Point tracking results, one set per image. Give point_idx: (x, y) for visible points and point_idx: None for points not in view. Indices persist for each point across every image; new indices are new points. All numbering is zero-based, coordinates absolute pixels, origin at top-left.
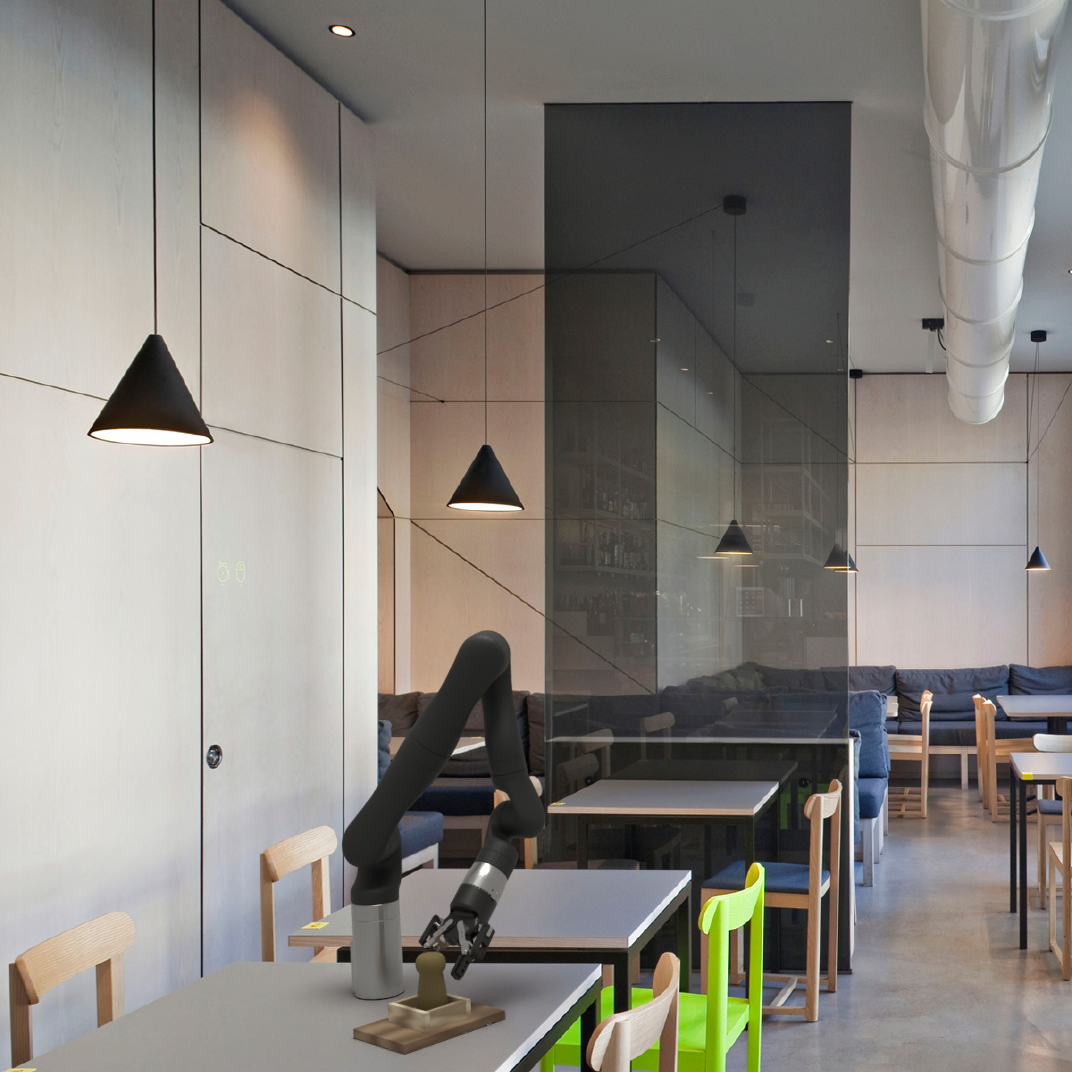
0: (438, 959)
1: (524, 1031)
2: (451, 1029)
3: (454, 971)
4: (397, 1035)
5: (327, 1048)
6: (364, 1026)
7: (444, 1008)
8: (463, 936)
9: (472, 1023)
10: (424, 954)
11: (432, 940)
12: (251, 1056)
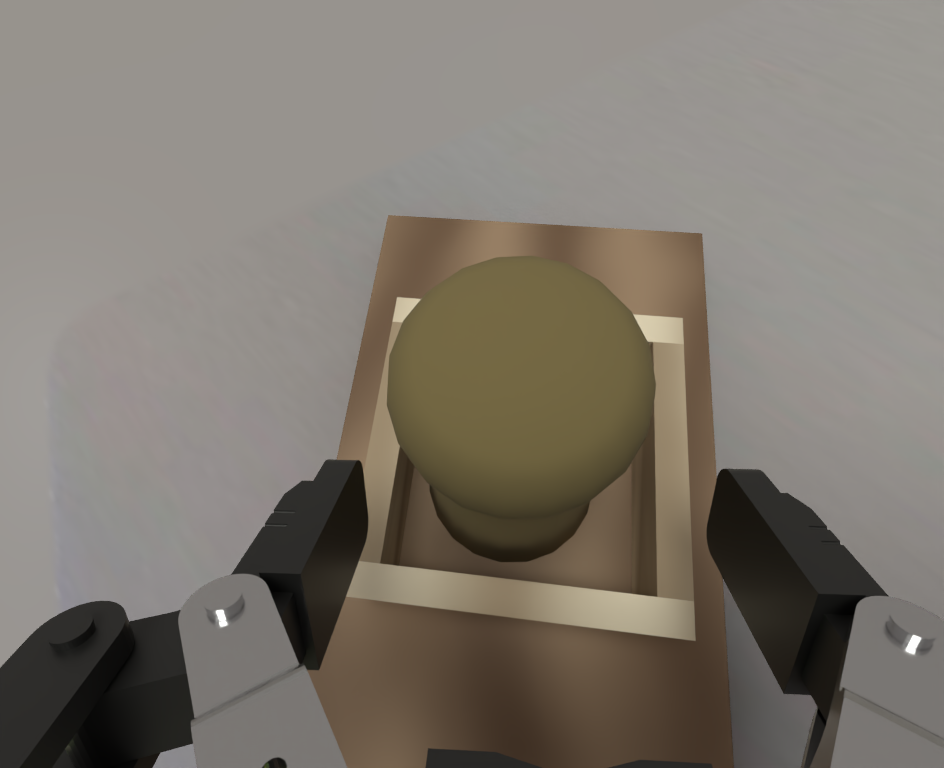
0: (396, 350)
1: None
2: (345, 420)
3: (323, 471)
4: None
5: (669, 158)
6: (689, 270)
7: (377, 411)
8: (231, 763)
9: None
10: (545, 300)
11: (893, 695)
12: (797, 29)
